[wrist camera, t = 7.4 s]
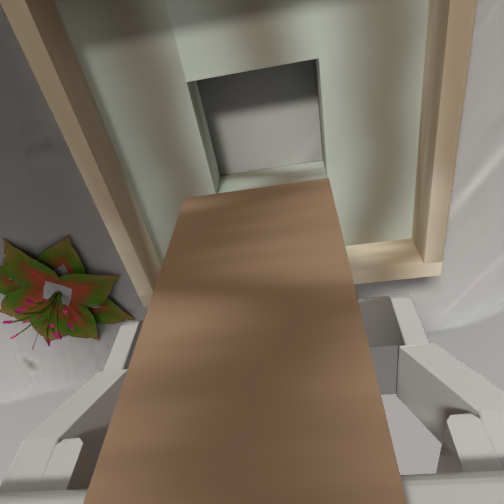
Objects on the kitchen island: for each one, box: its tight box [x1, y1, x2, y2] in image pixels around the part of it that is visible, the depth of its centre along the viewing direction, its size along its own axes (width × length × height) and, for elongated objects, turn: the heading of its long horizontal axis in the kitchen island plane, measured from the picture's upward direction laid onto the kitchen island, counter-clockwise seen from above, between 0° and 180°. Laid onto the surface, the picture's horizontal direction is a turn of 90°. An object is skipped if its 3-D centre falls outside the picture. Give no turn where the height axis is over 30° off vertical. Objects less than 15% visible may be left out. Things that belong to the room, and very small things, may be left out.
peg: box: [83, 178, 407, 504], centre depth 10 cm, size 4×4×10 cm
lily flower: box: [0, 236, 135, 349], centre depth 31 cm, size 12×12×5 cm
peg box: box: [0, 0, 477, 308], centre depth 21 cm, size 18×18×5 cm
